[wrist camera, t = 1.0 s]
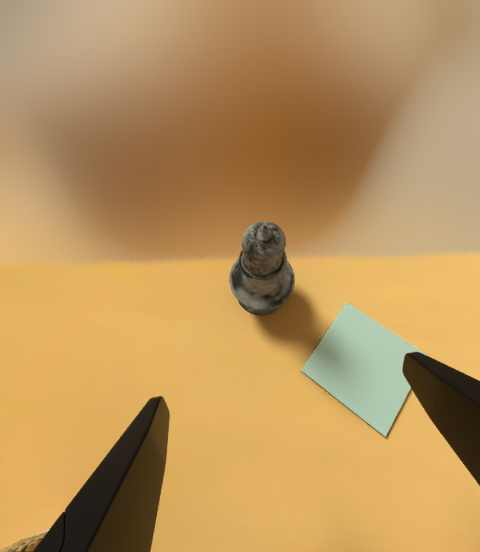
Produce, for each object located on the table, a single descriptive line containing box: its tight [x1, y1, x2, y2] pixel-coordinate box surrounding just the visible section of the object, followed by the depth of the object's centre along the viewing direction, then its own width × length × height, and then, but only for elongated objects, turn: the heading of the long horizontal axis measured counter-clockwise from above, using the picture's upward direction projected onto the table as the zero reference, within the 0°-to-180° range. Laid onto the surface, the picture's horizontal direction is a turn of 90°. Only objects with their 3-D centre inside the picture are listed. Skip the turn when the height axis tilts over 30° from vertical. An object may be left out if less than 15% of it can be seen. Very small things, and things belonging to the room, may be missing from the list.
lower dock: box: [301, 302, 428, 437], centre depth 22 cm, size 8×8×1 cm
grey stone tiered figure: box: [229, 222, 294, 315], centre depth 19 cm, size 6×6×12 cm
